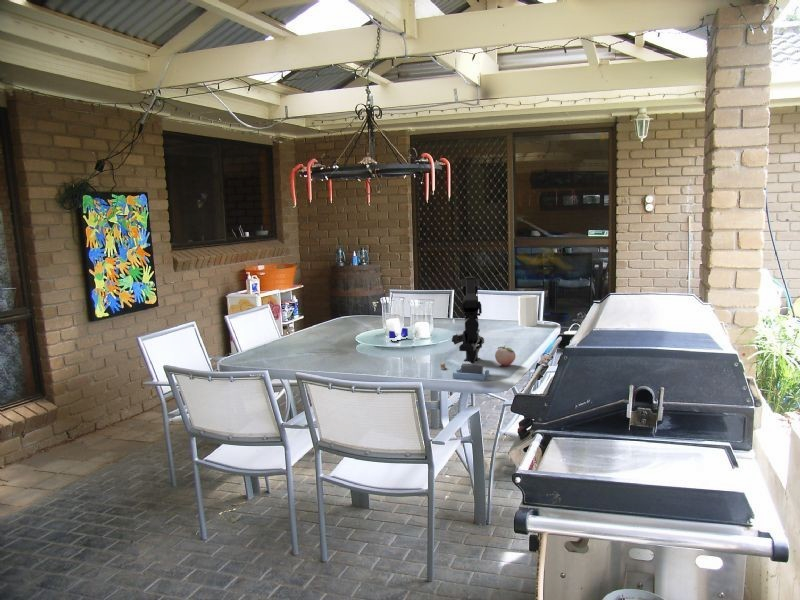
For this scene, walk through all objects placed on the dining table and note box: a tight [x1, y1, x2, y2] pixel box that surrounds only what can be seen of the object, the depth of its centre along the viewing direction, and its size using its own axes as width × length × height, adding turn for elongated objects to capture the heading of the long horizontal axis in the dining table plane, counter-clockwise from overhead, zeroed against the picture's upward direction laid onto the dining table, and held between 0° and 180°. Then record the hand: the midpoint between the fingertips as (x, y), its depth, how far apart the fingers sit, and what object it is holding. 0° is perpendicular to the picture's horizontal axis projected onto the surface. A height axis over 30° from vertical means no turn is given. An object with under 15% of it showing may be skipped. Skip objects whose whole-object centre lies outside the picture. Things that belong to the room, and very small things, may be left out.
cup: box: [517, 294, 538, 328], centre depth 378 cm, size 11×11×18 cm
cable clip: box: [388, 327, 409, 339], centre depth 355 cm, size 12×4×6 cm, turn 135°
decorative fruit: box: [494, 346, 516, 367], centre depth 282 cm, size 9×8×10 cm
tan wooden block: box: [440, 362, 446, 371], centre depth 281 cm, size 3×14×2 cm, turn 68°
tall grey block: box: [460, 363, 484, 374], centre depth 270 cm, size 4×9×5 cm, turn 76°
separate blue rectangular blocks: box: [452, 367, 490, 381], centre depth 267 cm, size 8×14×2 cm, turn 68°
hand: (472, 363), depth 269 cm, fingers closed
